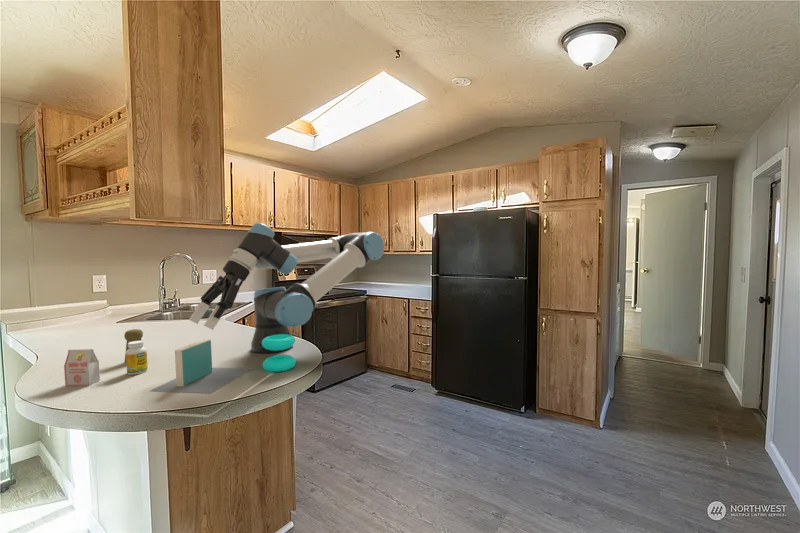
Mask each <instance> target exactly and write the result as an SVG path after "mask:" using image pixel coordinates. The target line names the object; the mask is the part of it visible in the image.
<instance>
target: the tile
mask: <svg viewBox="0 0 800 533" xmlns="http://www.w3.org/2000/svg"><path fill="white" fill-rule="evenodd" d="M174 360H175V361H174V362H175V379H176V385H177V386H185V385H187V384H189V383H191V382H193V381H195V380H197V379H199V378H201V377H203V376H205V375H207V374H209V373H211V372H212V368H213V361H212V360H213V358H212V340H211V339H201V340H198V341H196V342H194V343H191V344H188V345H186V346H185V345H184V346H183V347H180V348H177V349H175V350H174Z"/></svg>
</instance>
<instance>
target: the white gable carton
mask: <svg viewBox="0 0 800 533" xmlns="http://www.w3.org/2000/svg"><path fill="white" fill-rule="evenodd" d="M99 362H100V361H99V359H98V357H97V356H96V354H95V352H94V349H92V348H91V349H89V348H88V349H87V348H86V349H84V348H83V349H78V348H77V349H68V350H67V356H66V358H65V362H64V365H63V368H64V370H63V371H64V385H65V387H90V386H92V384H93V385H95V384H97V383H99V381H101V378H100V377H101V376H100V374H101V373H100V363H99ZM94 383H95V384H94Z"/></svg>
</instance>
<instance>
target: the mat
mask: <svg viewBox="0 0 800 533" xmlns="http://www.w3.org/2000/svg"><path fill="white" fill-rule="evenodd" d="M251 370H253V368H241V367H240V368H239V367H237V368H235V367H212V372H211V373H209V374H207V375H205V376H203V377H201V378H199V379H197V380H195V381H193V382H191V383H189V384H187V385H185V386H177V385H176V378H174V379H171V380H170V381H166V382H165V383H163V384H161V385H159V386H156V387H154V388H152V389H150V390H149V392H156V393H157V392H158V393H159V392H160V393H182V394H203V395H204V394H205V395H207V394H208V395H211V394H212V393H214V392H216V391H218V390H219V389H221V388H223V387H224V386H226V385H228V384H230V383H231V382H233V381H234V380H236V379H238V378H240V377H241V376H243V375H245V374H246V373H248V372H250V371H251Z"/></svg>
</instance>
